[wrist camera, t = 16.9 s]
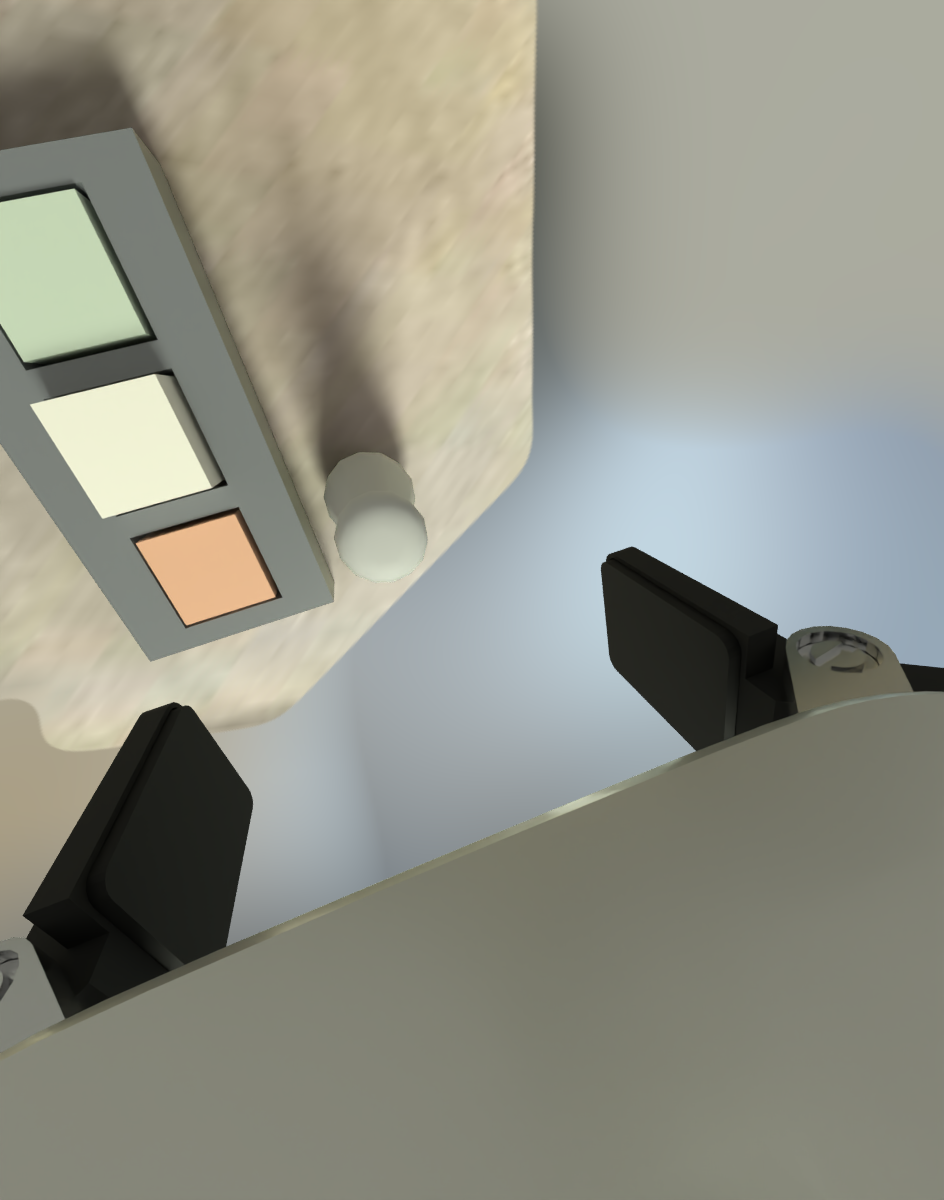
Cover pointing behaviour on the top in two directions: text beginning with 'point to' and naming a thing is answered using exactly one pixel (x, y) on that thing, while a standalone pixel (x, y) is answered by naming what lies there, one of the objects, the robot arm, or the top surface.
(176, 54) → the top surface
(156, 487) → the key cream
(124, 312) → the key sage
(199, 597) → the key terracotta
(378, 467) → the salt shaker
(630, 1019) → the robot arm
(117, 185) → the keypad
